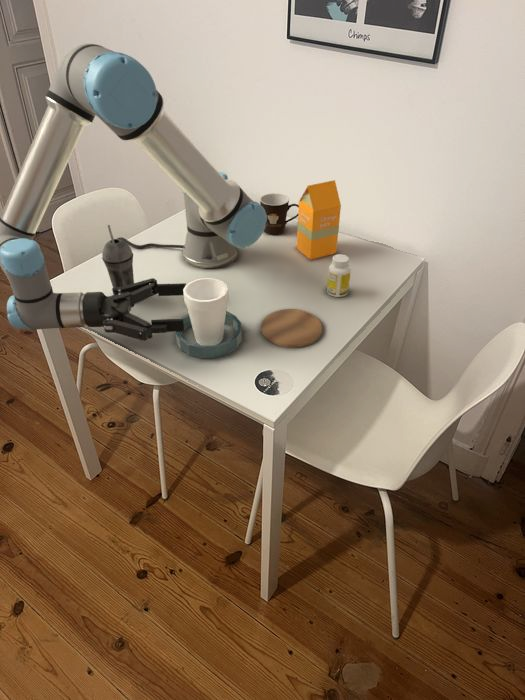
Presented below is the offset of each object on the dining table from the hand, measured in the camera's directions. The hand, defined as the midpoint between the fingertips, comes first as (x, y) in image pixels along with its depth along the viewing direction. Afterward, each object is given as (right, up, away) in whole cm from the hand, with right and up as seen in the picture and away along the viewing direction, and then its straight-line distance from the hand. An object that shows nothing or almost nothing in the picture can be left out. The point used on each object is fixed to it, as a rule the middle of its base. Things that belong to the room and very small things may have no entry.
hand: (185, 306), depth 114 cm
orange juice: (+32, +19, +38) cm, 53 cm away
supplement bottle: (+36, +5, +21) cm, 42 cm away
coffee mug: (+21, +27, +47) cm, 58 cm away
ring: (+5, -7, +6) cm, 10 cm away
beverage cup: (-18, +4, +19) cm, 26 cm away
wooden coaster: (+23, -5, +9) cm, 25 cm away
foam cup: (+5, -7, +6) cm, 10 cm away
